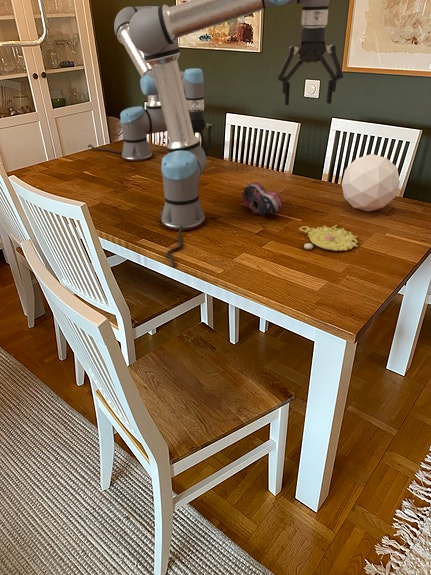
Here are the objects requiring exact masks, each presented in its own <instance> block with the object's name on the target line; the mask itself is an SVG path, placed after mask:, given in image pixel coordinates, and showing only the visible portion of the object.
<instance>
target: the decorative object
mask: <svg viewBox="0 0 431 575" xmlns="http://www.w3.org/2000/svg"><path fill="white" fill-rule="evenodd" d="M303 228H304V229H305V230H304V229H303ZM299 231H300V232H303V233H305V234H307V237H308V238H309V240H310V241H311V243H304V244H303V248H304V249H305V250H313V249H314V245H315V246H316V247H318V248H321V249H324V250H328V251H335V252H341V251H348V250H352V249H354V247H356V248H358V247H359V245H358V244H357V243H359V240H357V238H359V237H358V235H353V234H352V231H347V230H346V229H345V228H344V227H342V228H338V224H335V225H333V226H331V227H328V226H327V225H326V224H325V225H323V226H322V227H321V226H317V227H316V228H314V227H309V226H308V225H302V226H300V227H299ZM313 244H314V245H313Z"/></svg>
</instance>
